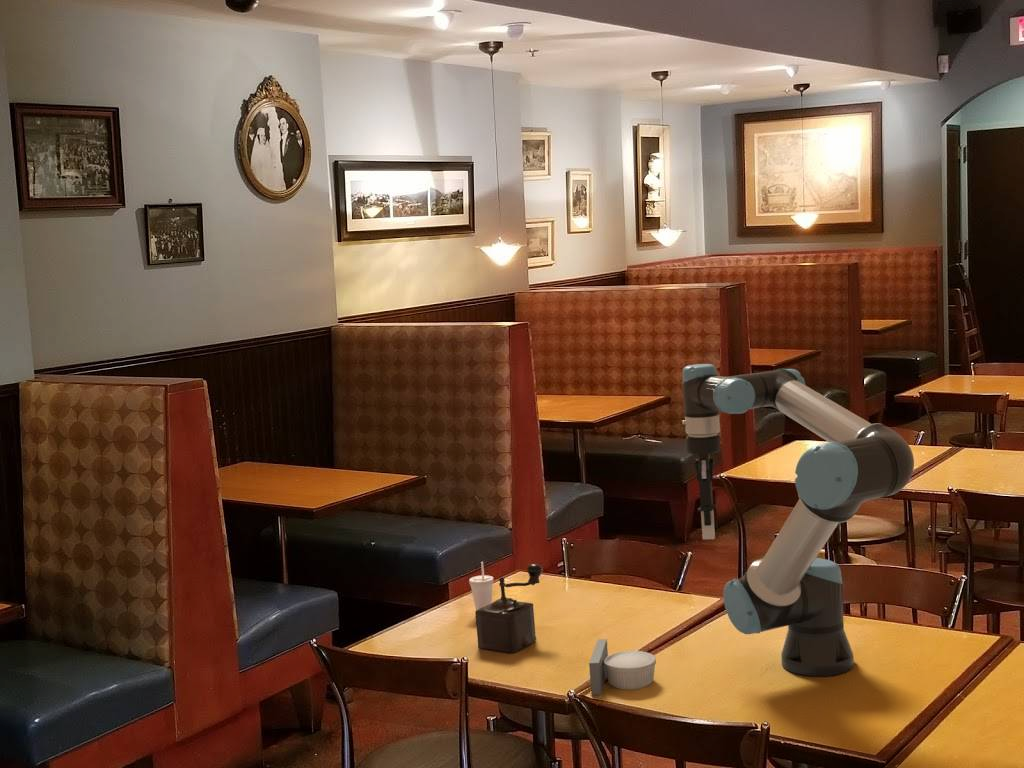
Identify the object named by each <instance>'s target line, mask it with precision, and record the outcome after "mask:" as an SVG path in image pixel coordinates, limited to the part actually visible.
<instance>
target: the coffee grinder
mask: <svg viewBox="0 0 1024 768" xmlns="http://www.w3.org/2000/svg"><path fill="white" fill-rule="evenodd" d="M526 572H527V573H528V577H529V579H528V581H527V582H511V583H505V578H504V577H499V578H498V581H499V583H498V586H499V587H500V592H501V595H500V596H501V597H500V598H499V599H496V600H495V601H492V603H491V604H489V605H487V606H485V607H482V608H480V609H478V610H476V609H475V621H476V623H475V624H476V634H477V648H478V649H480V650H484V651H492V652H497V653H503V654H510V655H511V654H512V655H514V654H515V653H517V652H519V651H521V650H523V649H525V648H527V647H528V646H530V645H531V644H533V643H535V641H537V637H536V625H535V613H534V612H535V611H534V604H533V603H534V602H533V603H532V602H525V601H517V599H513V598H512V597H506V592H505V590H506V589H505V588H512V587H527V586H531V585H532V586H534V585H536V584H540V583H541V582H540V576H541V575H542V573H543V572H544V570H543V567H542V566H541V565H540V564H538V563H531V564H529V565H528V566H527V568H526Z"/></svg>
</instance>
